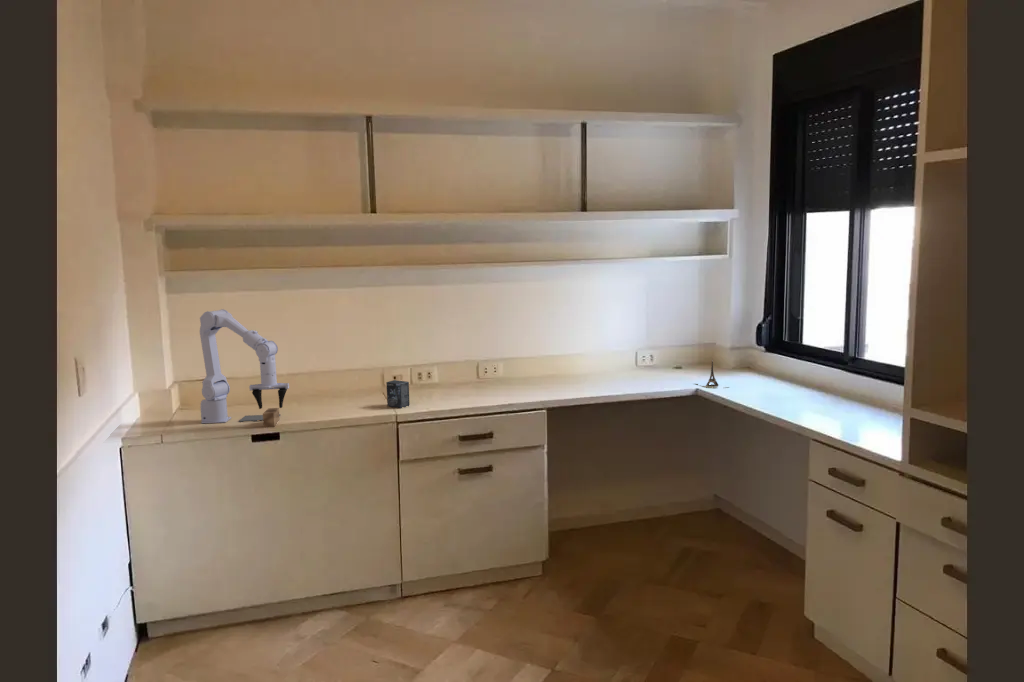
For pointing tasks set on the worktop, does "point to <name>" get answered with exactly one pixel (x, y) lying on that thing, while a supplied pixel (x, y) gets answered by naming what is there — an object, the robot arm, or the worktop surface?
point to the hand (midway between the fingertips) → (270, 407)
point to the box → (397, 393)
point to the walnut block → (271, 417)
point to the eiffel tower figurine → (712, 380)
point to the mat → (252, 418)
